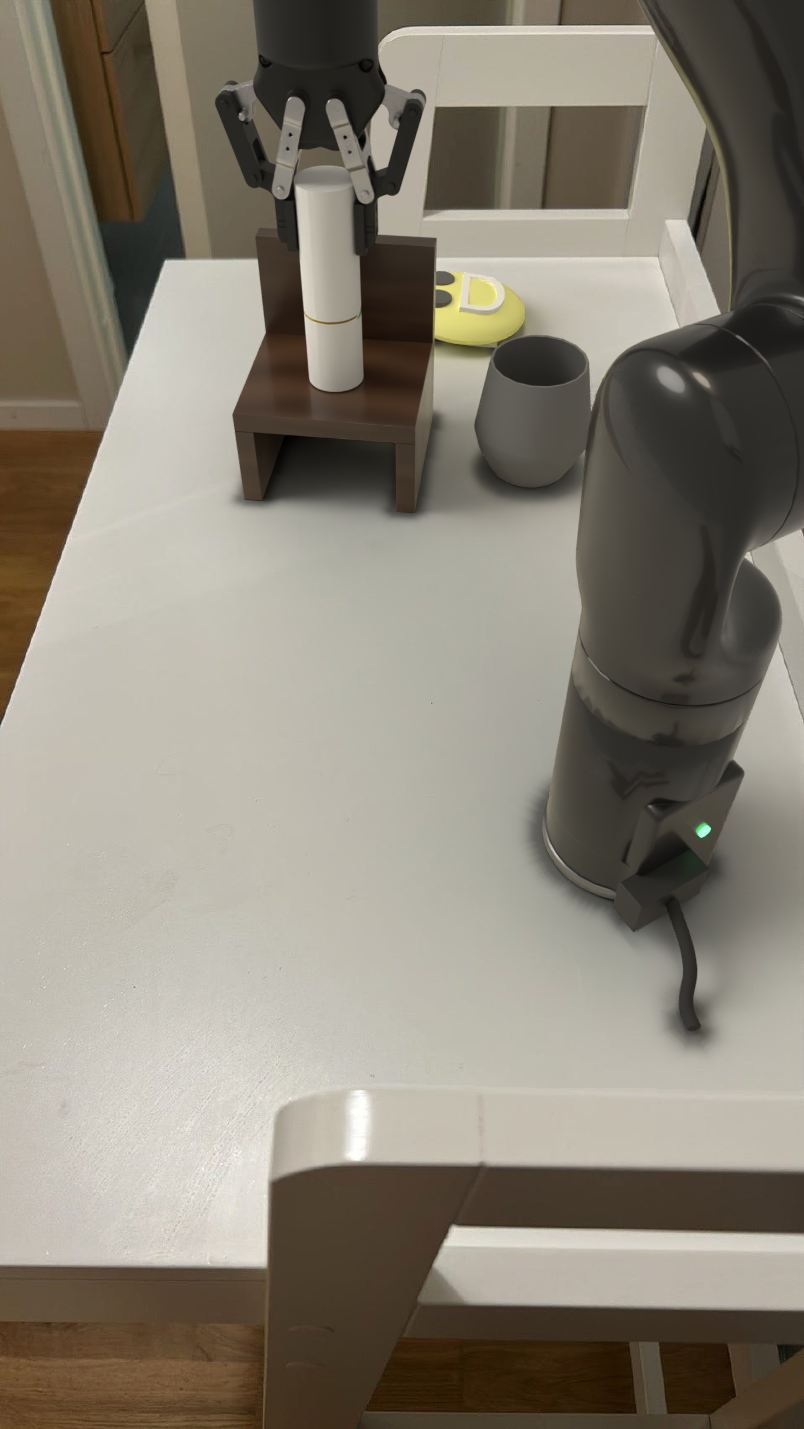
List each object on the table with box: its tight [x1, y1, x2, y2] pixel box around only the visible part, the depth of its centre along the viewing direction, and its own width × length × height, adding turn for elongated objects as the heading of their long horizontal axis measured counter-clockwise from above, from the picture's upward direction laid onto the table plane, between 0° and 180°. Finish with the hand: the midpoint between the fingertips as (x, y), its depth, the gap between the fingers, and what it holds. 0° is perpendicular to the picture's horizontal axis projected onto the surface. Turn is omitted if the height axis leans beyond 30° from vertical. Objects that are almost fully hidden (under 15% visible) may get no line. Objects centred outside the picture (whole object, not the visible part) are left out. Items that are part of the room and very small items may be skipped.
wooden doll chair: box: [231, 227, 438, 513], centre depth 83 cm, size 14×14×16 cm
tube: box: [294, 164, 364, 392], centre depth 77 cm, size 4×4×15 cm
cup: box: [473, 334, 592, 489], centre depth 84 cm, size 10×9×10 cm
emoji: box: [435, 270, 526, 349], centre depth 101 cm, size 4×12×12 cm
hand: (329, 247), depth 75 cm, fingers closed on tube, 4 cm apart
